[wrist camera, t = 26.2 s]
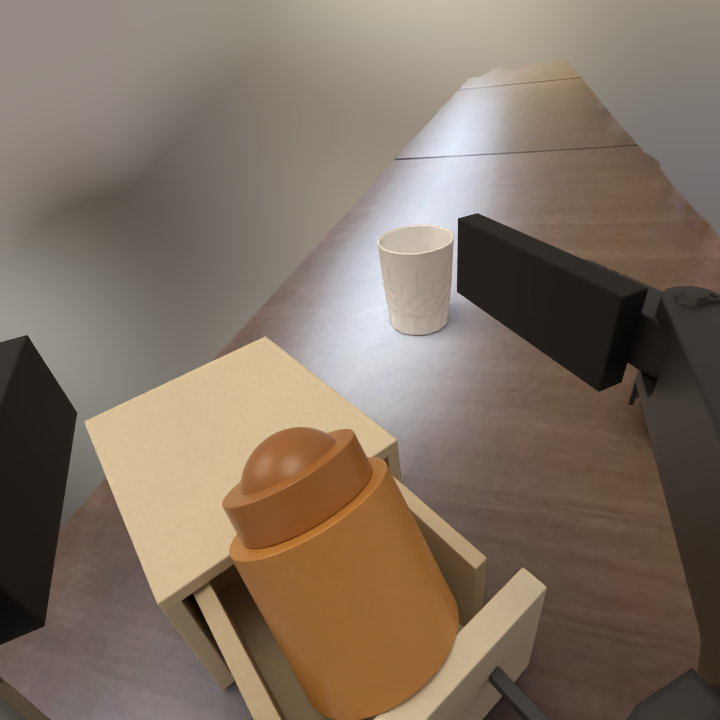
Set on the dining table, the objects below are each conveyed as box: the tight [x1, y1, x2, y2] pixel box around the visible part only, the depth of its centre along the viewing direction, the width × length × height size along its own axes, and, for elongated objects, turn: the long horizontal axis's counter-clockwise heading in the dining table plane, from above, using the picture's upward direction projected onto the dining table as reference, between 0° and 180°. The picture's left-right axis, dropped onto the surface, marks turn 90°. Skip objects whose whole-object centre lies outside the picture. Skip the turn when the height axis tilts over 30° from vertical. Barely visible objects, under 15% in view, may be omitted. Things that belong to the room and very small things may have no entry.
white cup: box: [378, 225, 454, 335], centre depth 50 cm, size 8×8×10 cm
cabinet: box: [85, 337, 401, 690], centre depth 30 cm, size 16×14×10 cm
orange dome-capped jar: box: [222, 427, 459, 720], centre depth 19 cm, size 7×7×10 cm
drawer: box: [193, 475, 549, 720], centre depth 21 cm, size 22×12×8 cm, turn 39°
